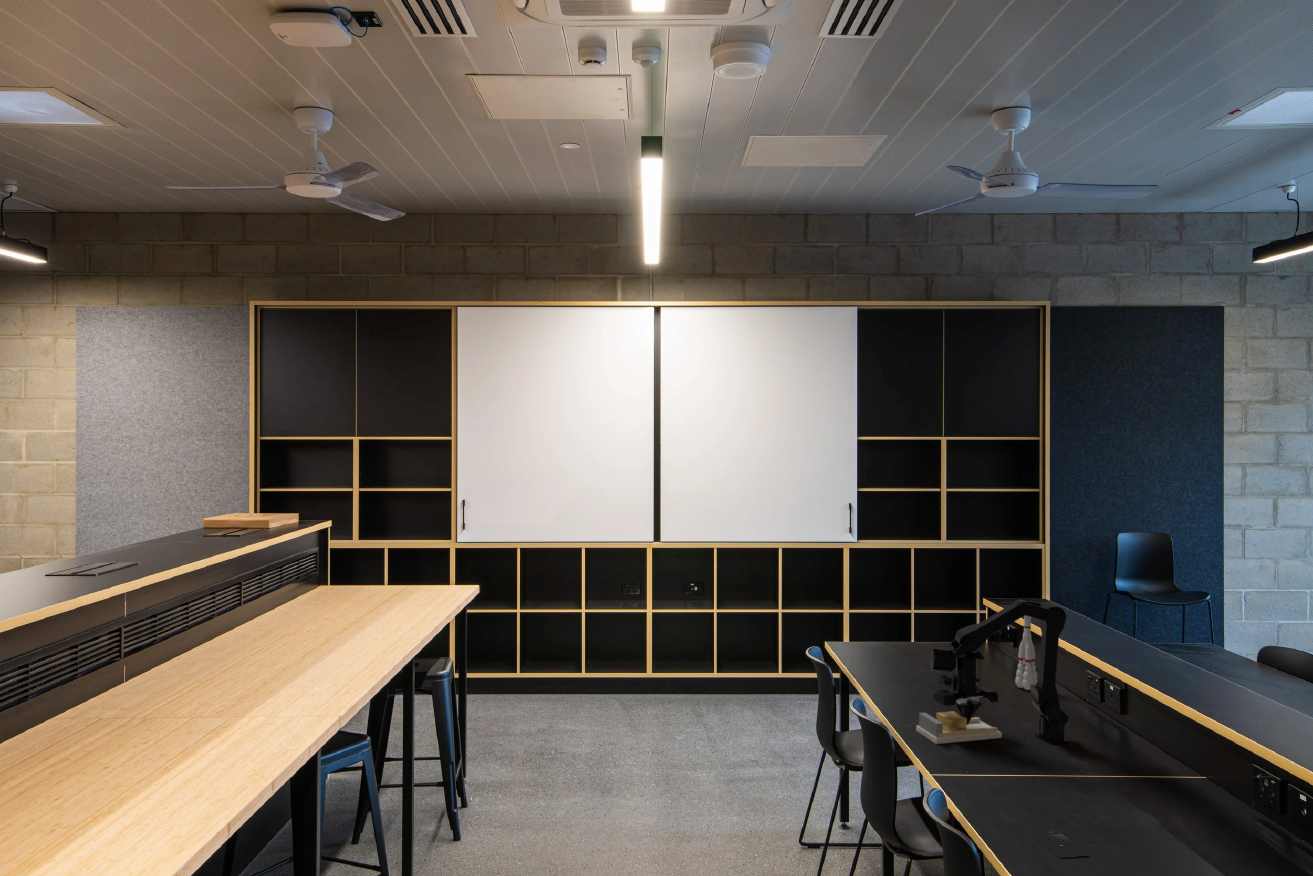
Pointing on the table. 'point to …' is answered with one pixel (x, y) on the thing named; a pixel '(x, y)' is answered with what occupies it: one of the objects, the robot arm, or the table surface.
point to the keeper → (952, 721)
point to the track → (937, 735)
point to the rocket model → (1026, 659)
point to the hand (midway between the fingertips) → (965, 724)
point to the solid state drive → (1059, 836)
